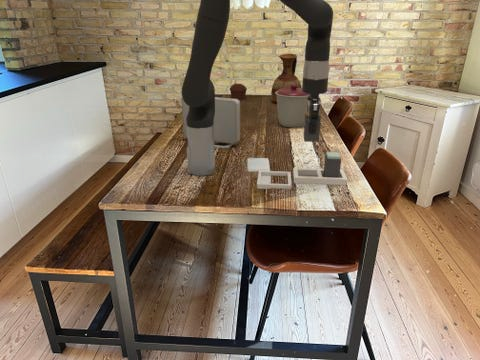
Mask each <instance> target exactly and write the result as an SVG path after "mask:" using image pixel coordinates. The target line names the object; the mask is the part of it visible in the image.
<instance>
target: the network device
mask: <svg viewBox="0 0 480 360" xmlns="http://www.w3.org/2000/svg"><path fill="white" fill-rule="evenodd" d="M180 99H181V100H180V101H181V102H180V103H181V115H182V129H183V136H184V137H185V138H187V139H188V137H187V123H186V118H187V115H188V112H189V106H188V105H187V104H186V103H185V102H184V100H183V98H182V97H181V98H180ZM240 139H241V101H239V100H238V99H232V98H230V97H229V98H227V97H217V96H215V116H214V148H219V149H229V148H231V147H232V146H233V145H234V144H237V143H238V142H239V141H240ZM218 142H219V143H226V144H227V145H218V144H217V143H218Z"/></svg>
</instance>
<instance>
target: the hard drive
mask: <svg viewBox="0 0 480 360" xmlns="http://www.w3.org/2000/svg"><path fill="white" fill-rule="evenodd" d="M246 160H247V172H248V173H259V171H271V167H270V161H269V158H268V157H248V158H247V159H246Z"/></svg>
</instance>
